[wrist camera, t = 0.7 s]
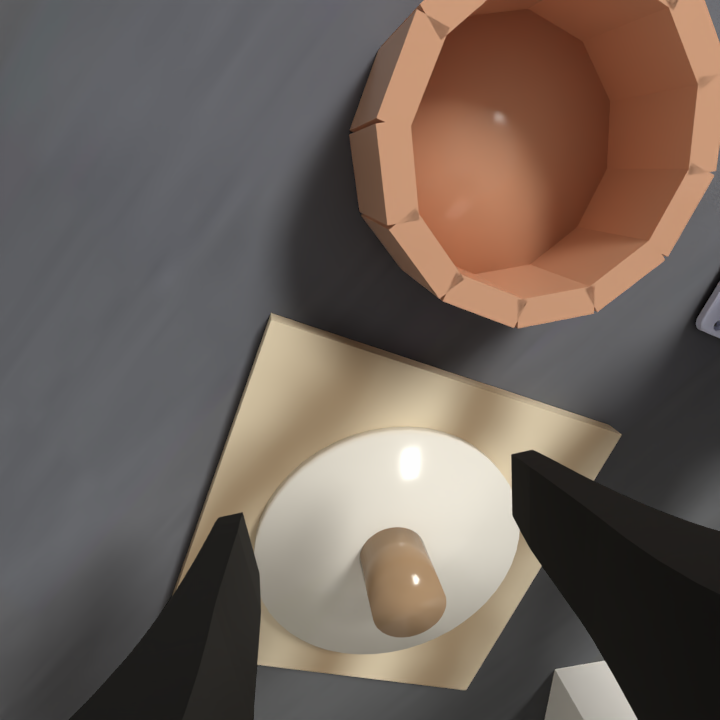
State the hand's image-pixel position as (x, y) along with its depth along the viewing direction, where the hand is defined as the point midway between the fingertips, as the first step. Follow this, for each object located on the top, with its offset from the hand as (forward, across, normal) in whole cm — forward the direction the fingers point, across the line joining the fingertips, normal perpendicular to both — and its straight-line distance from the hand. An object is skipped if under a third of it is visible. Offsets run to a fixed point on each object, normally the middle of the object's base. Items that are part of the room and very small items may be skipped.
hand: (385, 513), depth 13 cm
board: (+10, -1, +9) cm, 13 cm away
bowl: (+10, -7, -8) cm, 15 cm away
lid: (+9, -1, +9) cm, 13 cm away
